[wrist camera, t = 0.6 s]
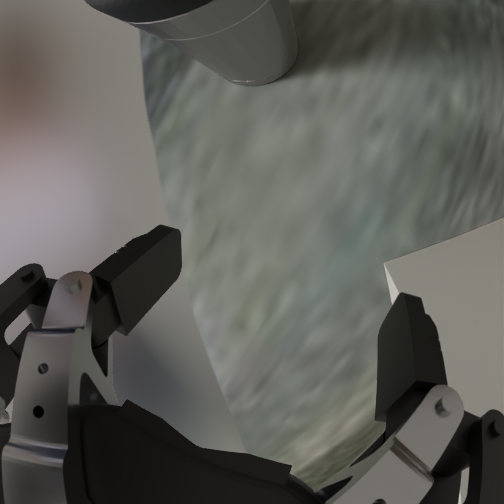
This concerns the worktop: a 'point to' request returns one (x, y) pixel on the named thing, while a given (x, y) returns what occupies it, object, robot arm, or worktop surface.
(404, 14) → the worktop surface
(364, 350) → the worktop surface
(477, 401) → the white upright box
